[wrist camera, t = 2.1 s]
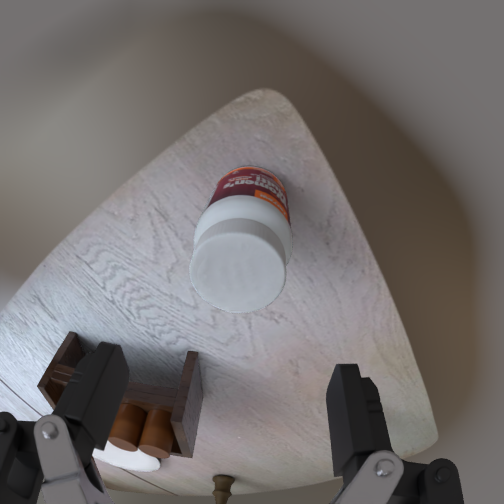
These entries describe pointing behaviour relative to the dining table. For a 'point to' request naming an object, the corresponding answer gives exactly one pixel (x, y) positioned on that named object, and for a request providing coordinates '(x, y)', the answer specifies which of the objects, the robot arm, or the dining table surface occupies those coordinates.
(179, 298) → the dining table surface
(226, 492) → the kendama
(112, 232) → the dining table surface
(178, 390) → the spice rack
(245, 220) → the pill bottle
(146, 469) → the plate
